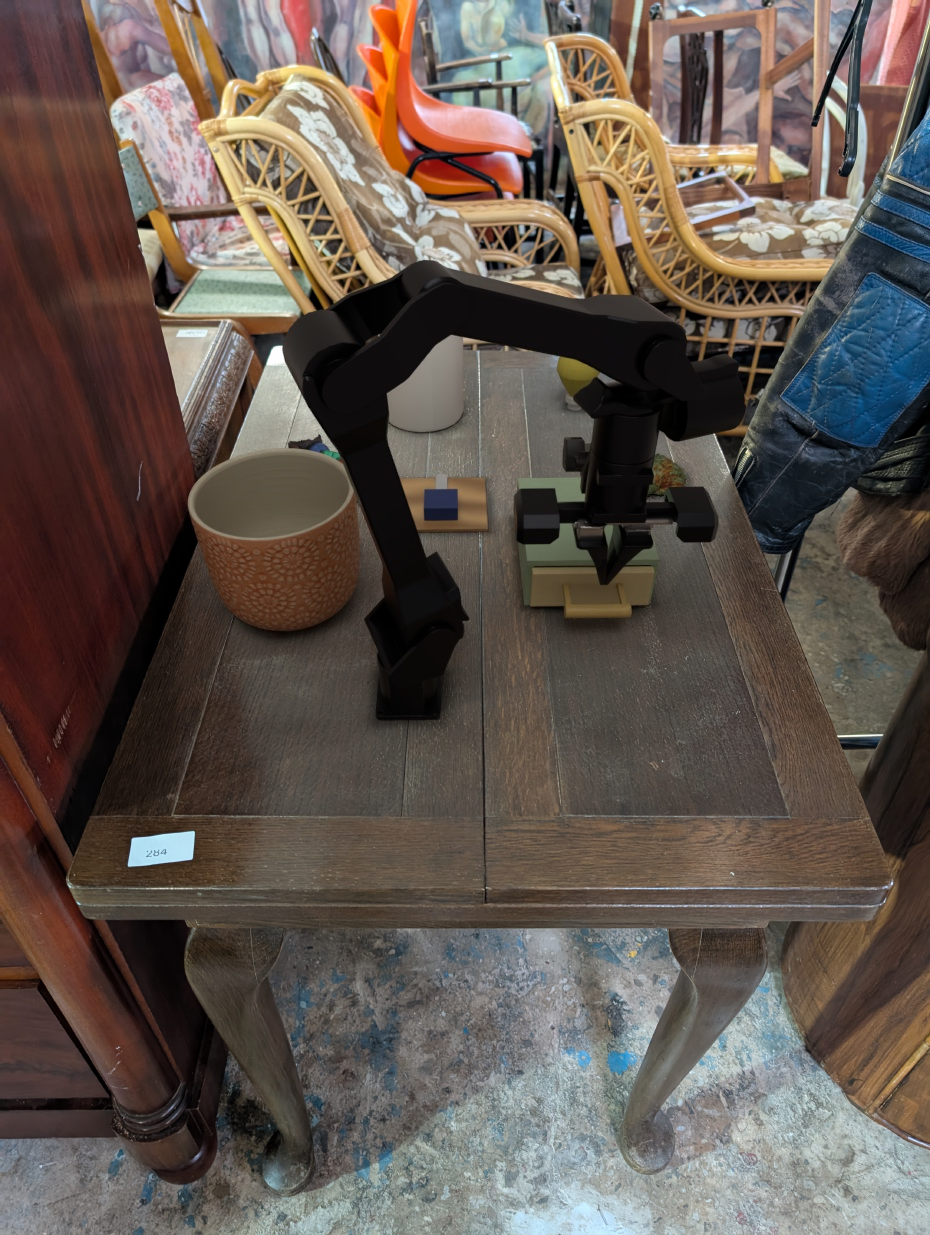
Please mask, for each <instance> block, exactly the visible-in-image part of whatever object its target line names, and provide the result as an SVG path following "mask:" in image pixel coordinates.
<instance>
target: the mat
mask: <svg viewBox="0 0 930 1235" xmlns="http://www.w3.org/2000/svg"><path fill="white" fill-rule="evenodd" d="M400 480H401V483H402V486H403V489H404V492H405V495H406V498H407V501H408V504H409V507H410V510H411V513H412V516H413V519H414V522H415V525H416V528H417V531H418V533H481V532H482V533H484V532H485V533H487V532H489V525H488V524H489V522H488V507H487V505H488V504H487V489H486V478H485V477H447V489H458V520H445V521H424V490H425V489H435V483H436V477H412V478H411V477H404V478H403V477H400Z"/></svg>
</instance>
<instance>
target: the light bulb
mask: <svg viewBox="0 0 930 1235" xmlns="http://www.w3.org/2000/svg"><path fill="white" fill-rule="evenodd" d="M556 372H557V375H558V377H559V379H560V381H561V383H562V385H563V387H564V388H565V390H566V393H565V398H564V399H565V400H564V401H565V402H566V403H567V406H566V408H567V409H568V410H570V411H575V412H576V411H580V410H583V409H582V408H581V407H580V406H579V405H578V404H576V403H575V402H574V400H573V396H574V395H575V394H576V393H577V392H578V391H579V390H580V389H581V388H583V387H585V386H587V385H588V384H589V383H590V382H591V381H592V380H593V378H594V377H598V378H599V375H601V373H600V372H599V371H597V370H595V369H593V368H591V367H590V366H588V365H586V364H584V363H581V362H579V361H577V360H574V359H569V358H564V357H559V356H558V360H557V364H556Z"/></svg>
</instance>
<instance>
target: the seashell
mask: <svg viewBox="0 0 930 1235" xmlns="http://www.w3.org/2000/svg"><path fill="white" fill-rule="evenodd" d="M652 470H653V473H654V479H653V485H650V486H649V491H648V496H649V495H663V496H664V493H665V489H667V488H668V487H687V485H686V484H687V481H686V479H687V475H685V471H684V470H683V468H681V467H680V466H679V465H678V463H676V462H675V461H673V460H672V459H671V458H670V457H667V456H665V455H664V454H660V453H657V452H656V453H655V458H654V463H653V469H652Z"/></svg>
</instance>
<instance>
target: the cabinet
mask: <svg viewBox="0 0 930 1235" xmlns="http://www.w3.org/2000/svg"><path fill="white" fill-rule="evenodd" d="M580 482H581V477H518V478H517V483H516V493H517V492H518V490H519V489H520V488H555V490H556V496H557V502H574V501H585V494H581V489H580ZM604 531H605V535H606V540H607V544H608V548H609V544H610V540H611V536H612V531H613V525H606V526H605V528H604ZM651 535H652V539H653V542H654V543H653V547H652V548H651V549H644V550H642V551H641V552H640V553H639V554H637V555H636V556H635V557H634V558H633V559H632V560H631V561H629V562H628V563H627V564H626V565H643V566H653V568H654V572H655V574H654V579H653V584H652V589H651V594H650V599H649V603H648V605H651V602H652V597H653V592H654V589H655V588H654V587H655V583H656V579H657V578H656V577H657V574H658V569H659V564H660V560H661V559H660V556H659V553H658V550H657V546H656V543H655V540H654V537H653V533H651ZM517 549H518V557H519V566H520V569H519V570H520V578H521V587H522V596H523V597H522V598H523V606H531V605H530V591H531V577H532V568H533V567H534V566H593V565H595V564H594V562H593V560H592V558H591V557H590V555H589V553H588V551H587V550H580V549H578V548H577V547H576V543H575V538H574V533H573V527H572V523H567V524H560V533H559V538H558V539H556V540H555V541H554V542H553V543H551V544H533V545H523V544H521V543H519V542H517Z"/></svg>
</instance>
